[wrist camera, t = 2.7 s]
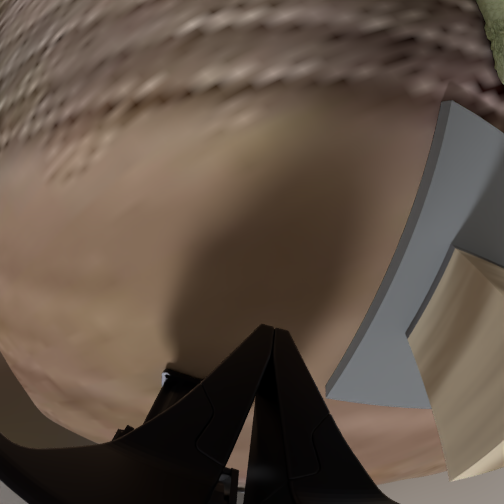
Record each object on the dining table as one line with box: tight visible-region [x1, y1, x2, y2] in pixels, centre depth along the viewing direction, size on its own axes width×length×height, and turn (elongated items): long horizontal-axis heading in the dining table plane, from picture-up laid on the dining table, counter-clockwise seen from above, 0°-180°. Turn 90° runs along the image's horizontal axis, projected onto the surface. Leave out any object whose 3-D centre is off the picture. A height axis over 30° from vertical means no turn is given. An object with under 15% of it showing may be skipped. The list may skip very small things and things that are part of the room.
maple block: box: [405, 244, 504, 482], centre depth 9 cm, size 5×6×10 cm
